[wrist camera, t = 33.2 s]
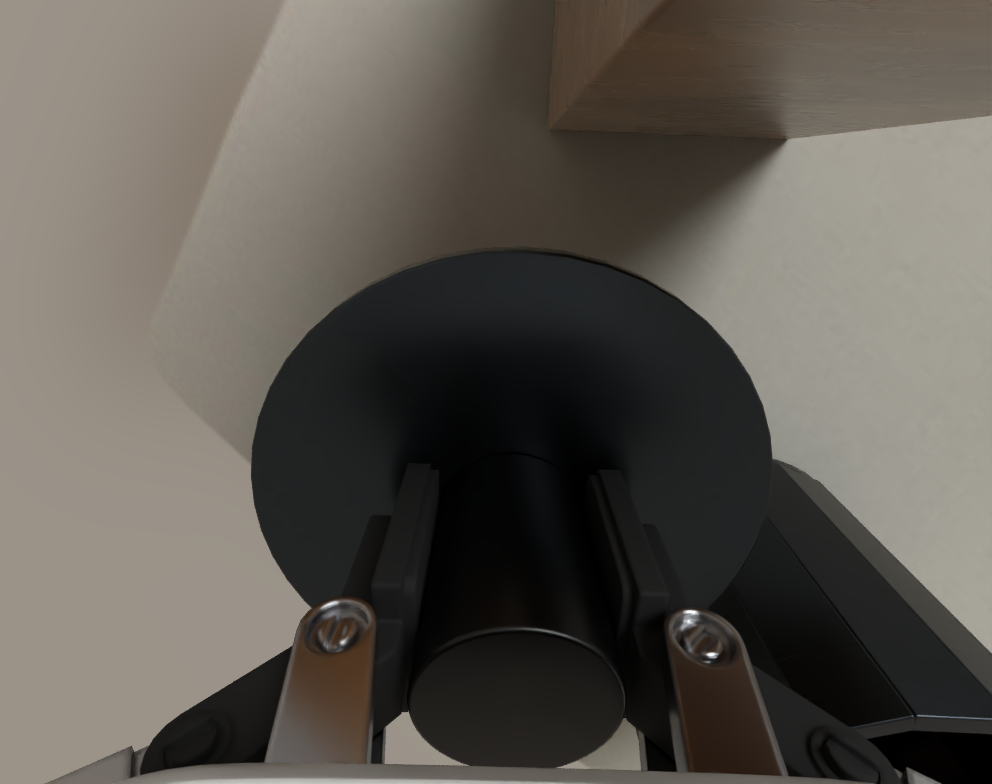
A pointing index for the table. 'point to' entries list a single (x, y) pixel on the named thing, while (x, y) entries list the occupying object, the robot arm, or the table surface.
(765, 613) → the trash can
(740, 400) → the bin lid
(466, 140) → the table surface
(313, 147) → the table surface
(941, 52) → the wooden block
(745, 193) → the table surface
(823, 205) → the table surface
